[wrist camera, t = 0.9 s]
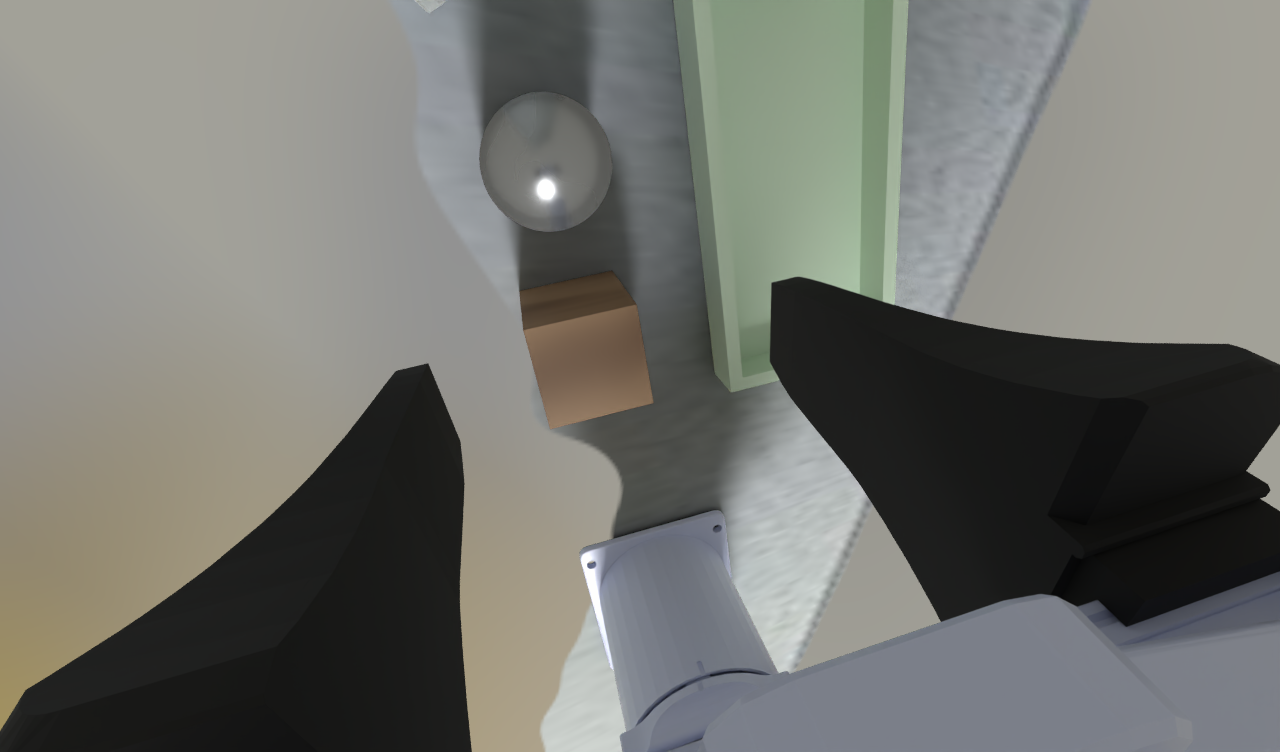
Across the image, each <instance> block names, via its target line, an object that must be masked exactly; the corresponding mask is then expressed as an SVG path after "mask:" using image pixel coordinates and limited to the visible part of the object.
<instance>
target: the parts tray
mask: <svg viewBox="0 0 1280 752" xmlns="http://www.w3.org/2000/svg"><path fill="white" fill-rule="evenodd" d="M673 5H674V14H675V23H676V32H677V41H678V49H679V58H680V67H681V76H682V85H683V94H684V103H685V112H686V121H687V130H688V139H689V148H690V157H691V166H692V175H693V184H694V193H695V202H696V211H697V220H698V229H699V238H700V247H701V256H702V265H703V274H704V283H705V291H706V300H707V309H708V318H709V327H710V336H711V345H712V354H713V363H714V372H715V374H716V375H717V377H718V378H719V379H720V380H721V381H722V383H723V384H724V385H725V386H726V387H727V388H728V390H729V391H730V392H731V393H732V392H736V391H740V390H744V389H748V388H752V387H756V386H760V385H764V384H768V383H772V382H775V381H779V378H778V376H777V374H776V372H775V371H774V369H773V367H772V365H771V363H770V322H771V283H772V282H776V281H780V280H785V279H789V278H793V277H797V276H798V277H804V278H808V279H812V280H816V281H820V282H823V283H826V284H830V285H833V286H836V287H839V288H842V289H845V290H848V291H851V292H855V293H858V294H861V295H864V296H867V297H870V298H873V299H876V300H880V301H883V302H886V303H889V304H893V305H895V283H896V261H897V239H898V217H899V195H900V173H901V151H902V130H903V108H904V86H905V64H906V42H907V20H908V0H673Z"/></svg>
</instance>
